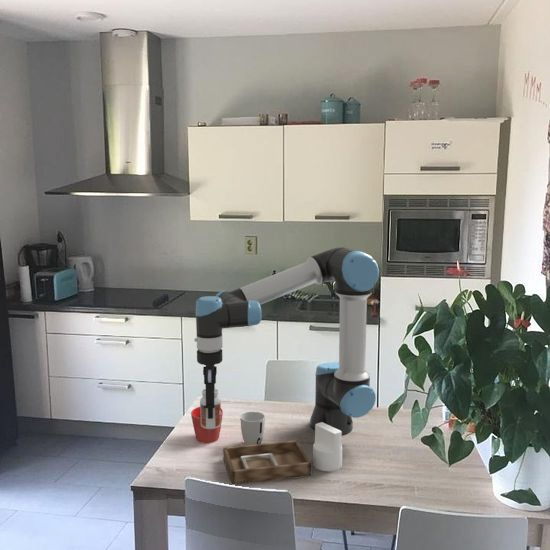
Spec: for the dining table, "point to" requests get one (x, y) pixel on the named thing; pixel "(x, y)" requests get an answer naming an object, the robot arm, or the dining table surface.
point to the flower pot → (202, 433)
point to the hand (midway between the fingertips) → (210, 422)
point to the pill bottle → (217, 409)
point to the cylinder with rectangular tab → (327, 448)
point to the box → (266, 462)
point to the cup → (252, 427)
